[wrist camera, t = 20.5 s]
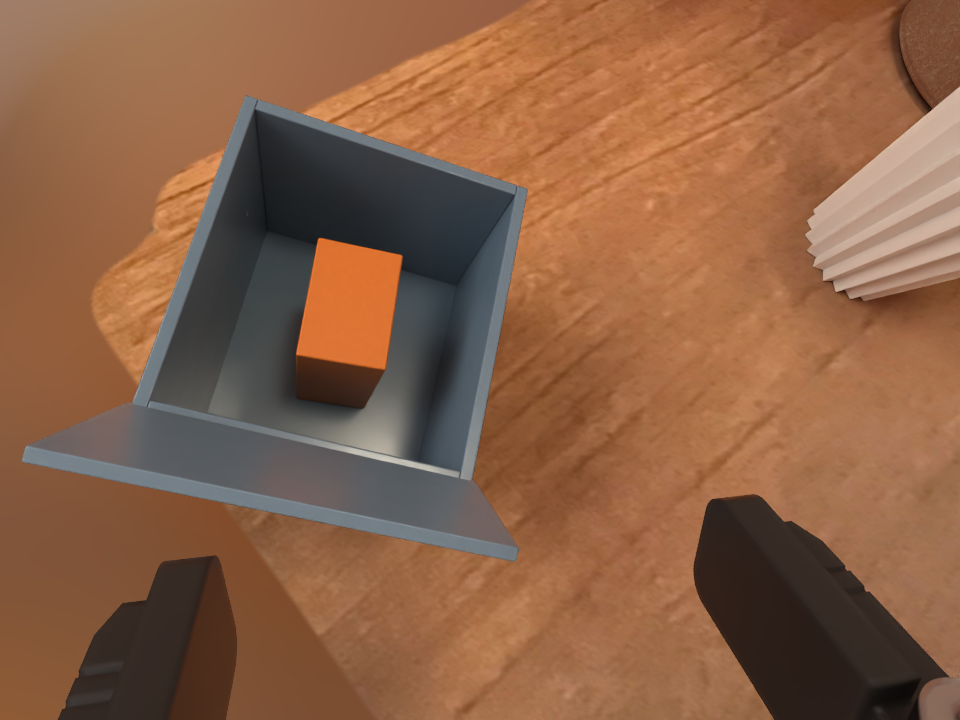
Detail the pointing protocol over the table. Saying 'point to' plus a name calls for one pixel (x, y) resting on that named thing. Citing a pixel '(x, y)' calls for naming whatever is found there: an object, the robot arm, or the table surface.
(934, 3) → the planter
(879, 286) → the vase
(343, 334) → the block
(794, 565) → the robot arm
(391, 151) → the blue box
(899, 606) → the table surface
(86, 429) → the gray box lid
